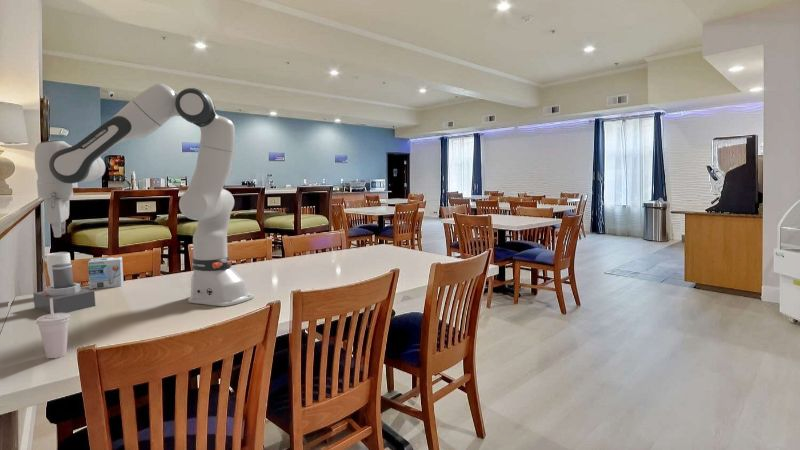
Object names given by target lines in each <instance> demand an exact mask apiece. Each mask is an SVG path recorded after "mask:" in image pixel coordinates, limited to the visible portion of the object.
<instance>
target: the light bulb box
mask: <svg viewBox="0 0 800 450" xmlns="http://www.w3.org/2000/svg"><path fill="white" fill-rule="evenodd" d="M123 265H124V264H123V257H122V256H115V257H112V256H111V257H99V258H90V259H89V261H88V262H87V268H88V269H87V271H88V286H89V287H88V288H89V290H94V289H93V288H96V289H105V288H106V289H108V288H118V287H122V286H123V285H124V283H125V282H124V281H125V280H124V271H123V270H124V267H123Z"/></svg>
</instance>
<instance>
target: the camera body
mask: <svg viewBox="0 0 800 450" xmlns="http://www.w3.org/2000/svg"><path fill="white" fill-rule="evenodd" d="M95 293H96V292H95V290H93V289H88V288H82V286H81V283H79V282H73V287H68V288H61V289H54V285H52V286H51V285H50V286H47V287H46V290H44V291H43V290H42V291H38V292H33V294H32V295H33V303H34V309H36V310H39V311H43V312H46V313H49V314H51V310H50V298H53V310H54V313H70V312H75V311H79V310H80V311H81V310H84V309H86V308H87V309H88V308H92V307H95V306H96V296H95Z"/></svg>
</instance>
